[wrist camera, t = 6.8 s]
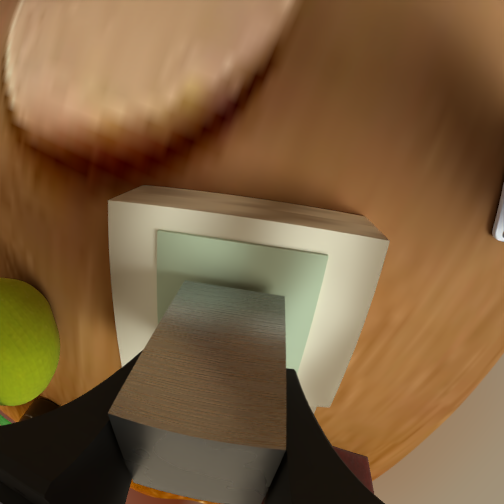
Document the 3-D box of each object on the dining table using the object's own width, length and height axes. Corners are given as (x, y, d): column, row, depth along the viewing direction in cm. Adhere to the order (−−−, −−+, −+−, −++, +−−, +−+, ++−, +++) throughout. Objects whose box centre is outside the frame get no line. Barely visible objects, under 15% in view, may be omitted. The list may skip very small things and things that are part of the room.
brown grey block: (284, 295, 12) (285, 449, 6) (268, 369, 14) (258, 507, 7) (185, 280, 12) (107, 413, 6) (183, 355, 14) (133, 482, 7)
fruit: (63, 370, 22) (8, 446, 13) (-5, 299, 21) (-73, 357, 11) (101, 318, 20) (22, 417, 10) (17, 230, 18) (-82, 288, 8)
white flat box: (365, 216, 16) (391, 242, 12) (299, 424, 22) (300, 466, 18) (144, 185, 16) (105, 201, 12) (152, 400, 22) (136, 438, 18)
